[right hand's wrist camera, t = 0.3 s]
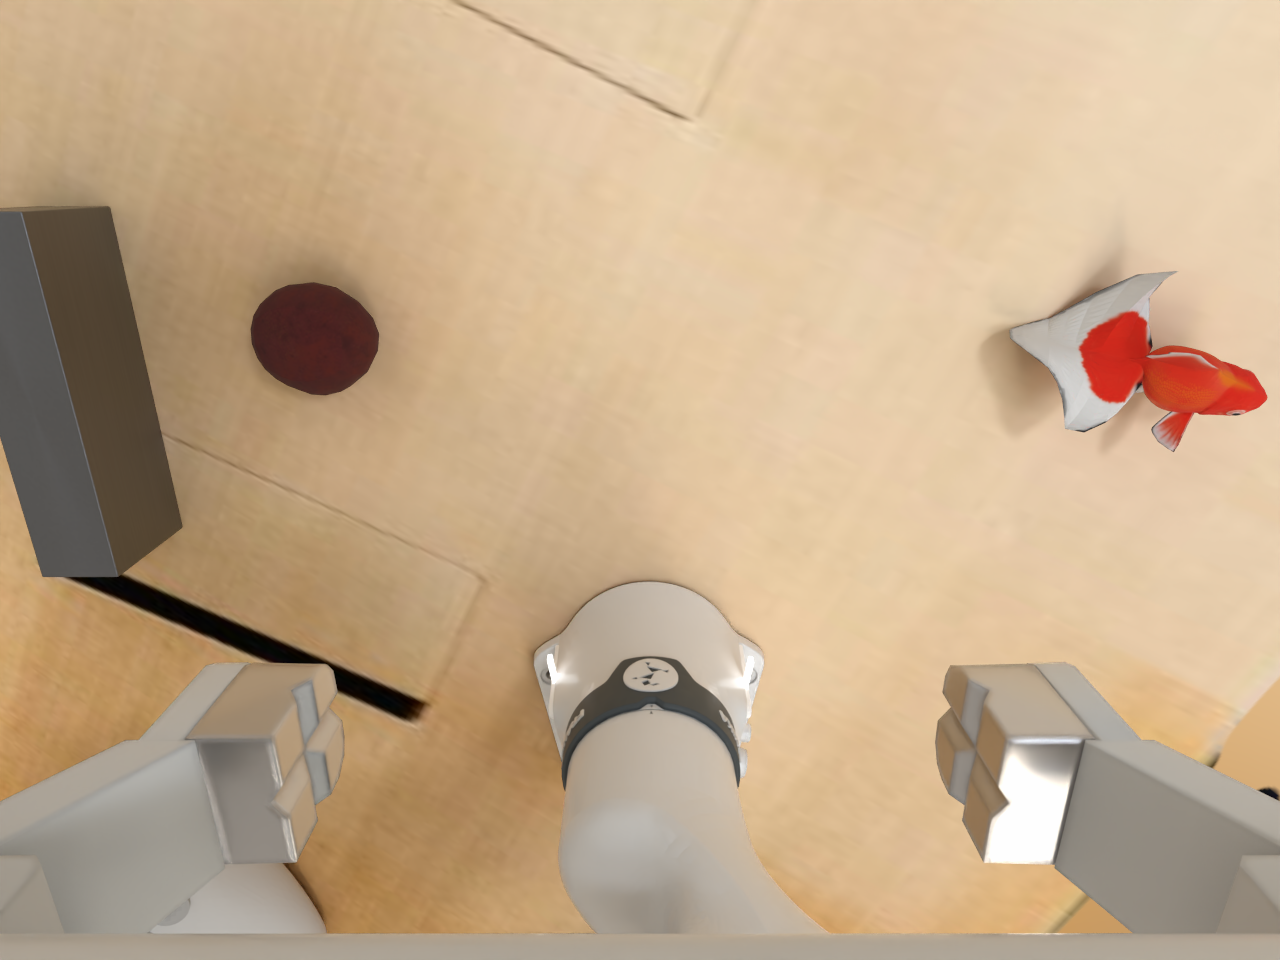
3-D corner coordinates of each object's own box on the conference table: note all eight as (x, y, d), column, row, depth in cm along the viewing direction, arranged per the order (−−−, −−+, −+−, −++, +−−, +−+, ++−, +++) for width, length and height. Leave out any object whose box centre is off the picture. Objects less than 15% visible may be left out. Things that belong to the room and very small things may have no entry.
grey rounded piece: (103, 943, 77) (-13, 1109, 63) (68, 752, 69) (-74, 895, 55) (333, 960, 78) (268, 1128, 64) (326, 774, 70) (249, 920, 56)
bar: (183, 527, 61) (118, 577, 54) (116, 527, 61) (42, 577, 54) (110, 206, 53) (21, 211, 45) (32, 206, 53) (-70, 211, 45)
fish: (1161, 513, 56) (1239, 491, 46) (962, 394, 60) (996, 351, 50) (1246, 388, 56) (1342, 341, 46) (1043, 279, 60) (1092, 214, 50)
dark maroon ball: (271, 277, 54) (220, 291, 48) (383, 275, 54) (348, 288, 48) (290, 382, 57) (245, 409, 50) (398, 380, 57) (366, 406, 50)
